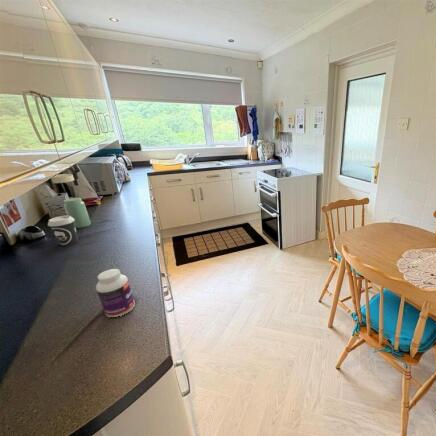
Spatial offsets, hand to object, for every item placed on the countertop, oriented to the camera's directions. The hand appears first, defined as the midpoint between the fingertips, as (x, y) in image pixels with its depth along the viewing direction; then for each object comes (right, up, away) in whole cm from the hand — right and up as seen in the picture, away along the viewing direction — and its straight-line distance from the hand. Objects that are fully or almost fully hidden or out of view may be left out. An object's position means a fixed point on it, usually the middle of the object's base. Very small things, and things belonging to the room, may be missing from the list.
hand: (65, 187), depth 125 cm
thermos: (-5, -21, +16) cm, 27 cm away
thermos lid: (0, +5, -2) cm, 6 cm away
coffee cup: (+11, -31, -8) cm, 34 cm away
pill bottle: (+67, -48, -49) cm, 96 cm away
